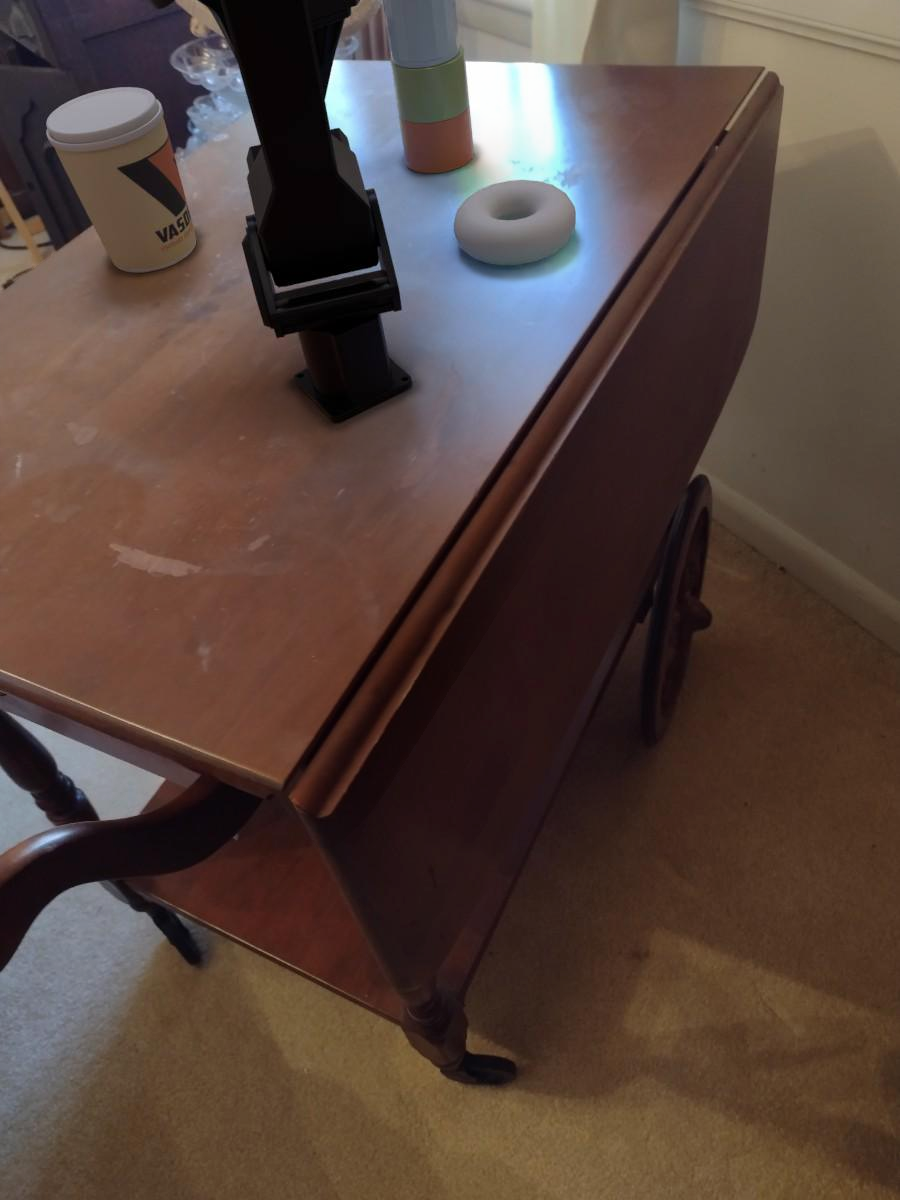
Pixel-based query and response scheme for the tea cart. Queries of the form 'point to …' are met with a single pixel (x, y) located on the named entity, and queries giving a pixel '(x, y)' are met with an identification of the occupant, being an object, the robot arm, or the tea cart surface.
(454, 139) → the cup stack
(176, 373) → the tea cart surface
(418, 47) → the blue cup
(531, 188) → the donut
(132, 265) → the coffee cup
